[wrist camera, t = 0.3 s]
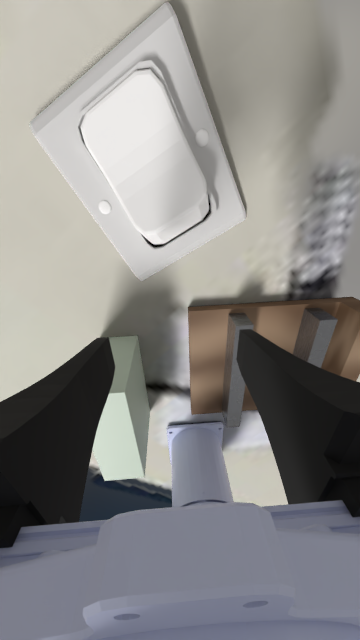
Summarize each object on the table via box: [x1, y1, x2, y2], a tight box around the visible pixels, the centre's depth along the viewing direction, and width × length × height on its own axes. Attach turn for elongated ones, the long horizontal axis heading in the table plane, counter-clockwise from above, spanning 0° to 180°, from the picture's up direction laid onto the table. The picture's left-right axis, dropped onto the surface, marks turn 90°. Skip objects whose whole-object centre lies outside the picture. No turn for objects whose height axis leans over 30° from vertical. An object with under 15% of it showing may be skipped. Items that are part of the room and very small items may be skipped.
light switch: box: [29, 2, 246, 281], centre depth 15 cm, size 11×4×13 cm
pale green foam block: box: [92, 335, 150, 481], centre depth 22 cm, size 5×12×8 cm, turn 2°
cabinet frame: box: [188, 297, 360, 427], centre depth 23 cm, size 15×17×4 cm
